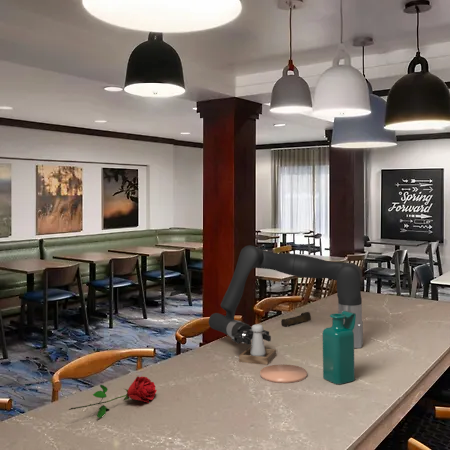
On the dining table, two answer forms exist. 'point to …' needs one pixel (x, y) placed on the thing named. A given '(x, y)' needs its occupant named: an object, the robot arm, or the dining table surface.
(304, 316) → the hand tool
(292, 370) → the terracotta pad
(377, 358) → the dining table surface
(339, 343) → the pitcher
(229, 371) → the dining table surface
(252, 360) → the brown wooden square frame
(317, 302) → the dining table surface
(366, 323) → the dining table surface
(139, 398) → the flower
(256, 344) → the salt shaker
